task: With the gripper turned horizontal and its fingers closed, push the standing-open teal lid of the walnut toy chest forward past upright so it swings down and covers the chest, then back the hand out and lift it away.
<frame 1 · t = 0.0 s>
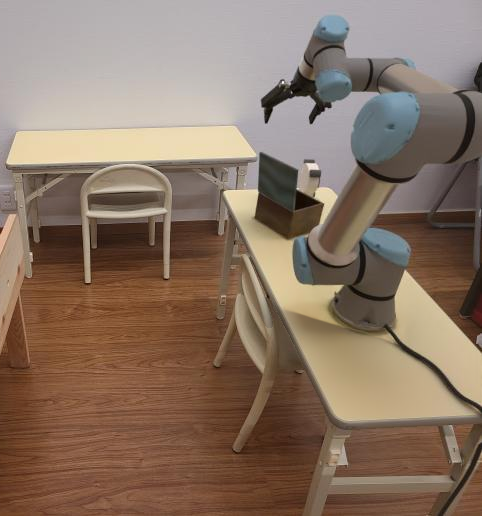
hand: (287, 120, 149), 36 cm above the table, tool tilted 35°, fingers open, 13 cm apart
panda figurine: (303, 203, 183), on the table
lid: (276, 181, 157), point 17 cm above the table, hinge at 98.0°
chest: (285, 223, 169), on the table
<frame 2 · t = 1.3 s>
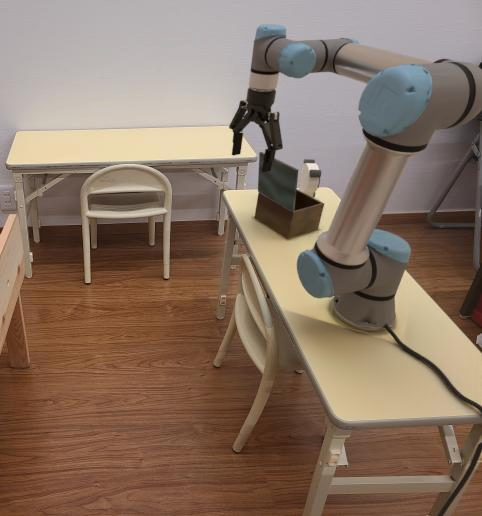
hand: (250, 162, 144), 27 cm above the table, tool pointing down, fingers open, 13 cm apart
nothing on the table moved.
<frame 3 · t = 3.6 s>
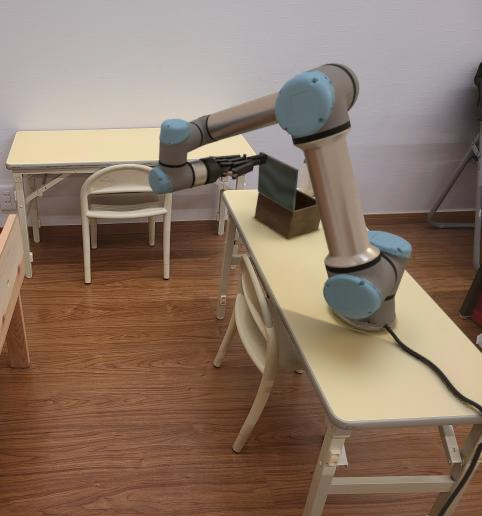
hand: (265, 158, 149), 26 cm above the table, tool horizontal, fingers closed
nothing on the table moved.
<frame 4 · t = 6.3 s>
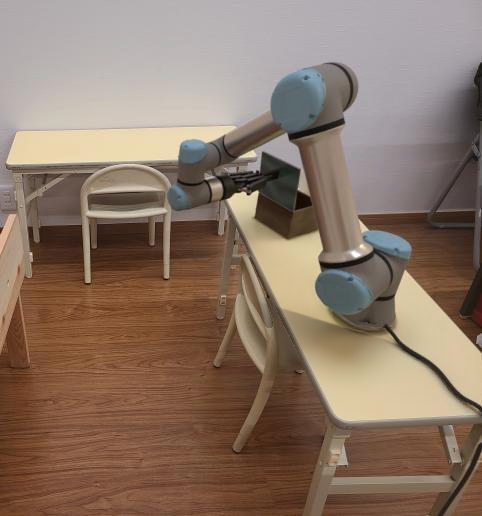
hand: (276, 173, 155), 20 cm above the table, tool horizontal, fingers closed
lid: (278, 180, 157), point 17 cm above the table, hinge at 94.0°, touching gripper
everything else where it was.
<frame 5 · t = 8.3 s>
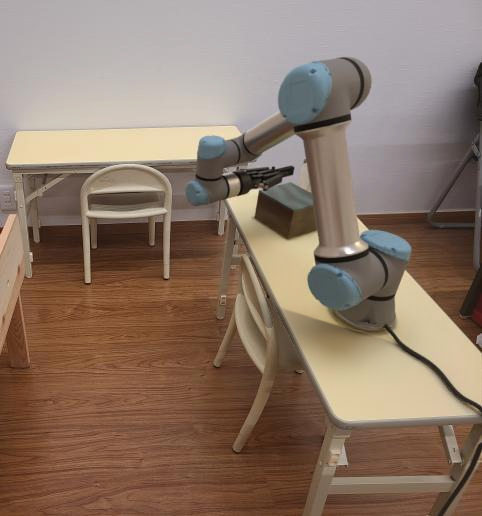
hand: (292, 170, 158), 20 cm above the table, tool horizontal, fingers closed
lid: (291, 196, 164), point 10 cm above the table, hinge at -0.1°
everything else where it was.
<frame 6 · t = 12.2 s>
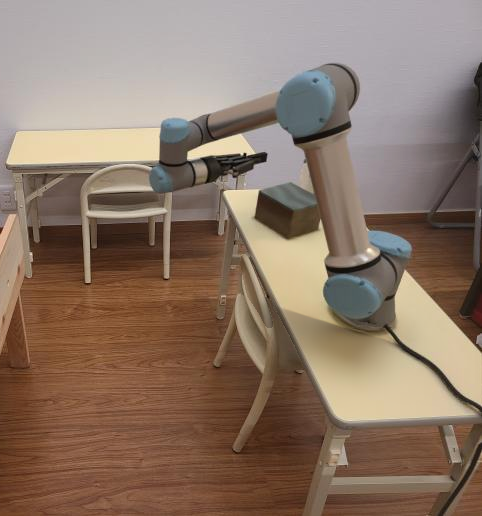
hand: (265, 156, 149), 27 cm above the table, tool horizontal, fingers closed
nothing on the table moved.
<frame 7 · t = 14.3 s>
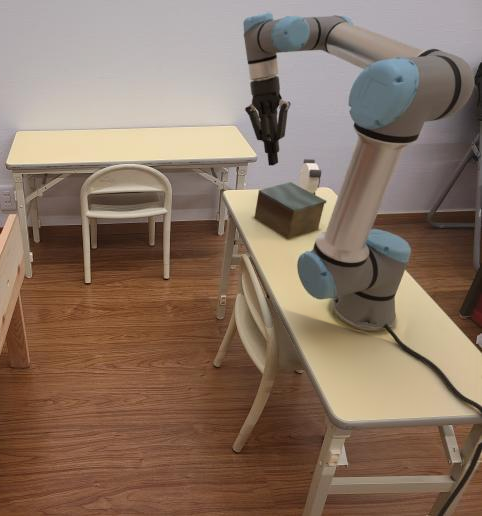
hand: (273, 163, 140), 28 cm above the table, tool tilted 15°, fingers closed
nothing on the table moved.
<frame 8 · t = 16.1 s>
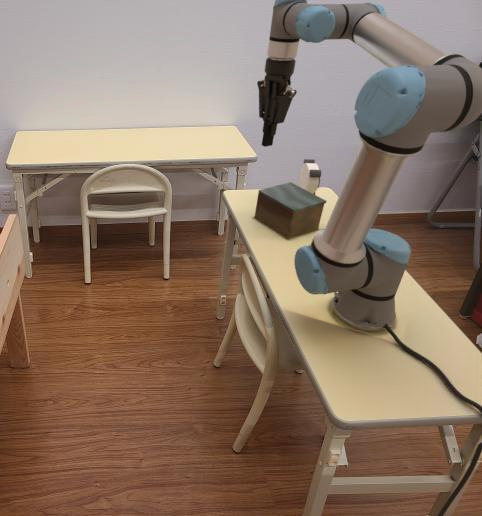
hand: (266, 145, 141), 32 cm above the table, tool pointing down, fingers closed
nothing on the table moved.
at the end: lid at +0° (first picture: +98°); panda figurine moved 0.2 cm from its start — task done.
